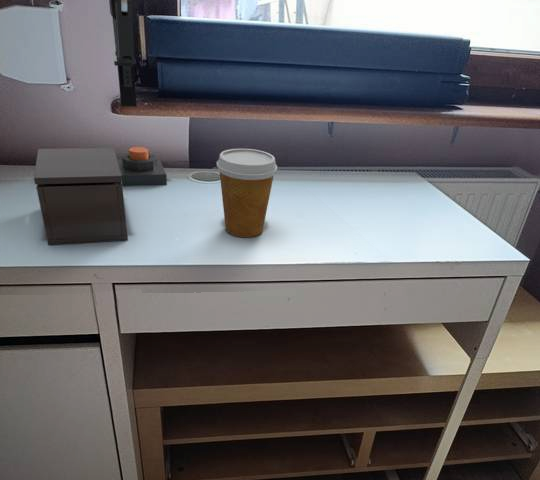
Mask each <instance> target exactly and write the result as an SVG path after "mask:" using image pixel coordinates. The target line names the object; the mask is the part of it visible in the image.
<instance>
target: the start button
mask: <svg viewBox="0 0 540 480" xmlns="http://www.w3.org/2000/svg"><path fill="white" fill-rule="evenodd" d="M128 153H129V156H130V159H132V160H147V159H149V158H148V153H149V149H148V148H146V147H142V146H134V147H130V148H129V149H128Z"/></svg>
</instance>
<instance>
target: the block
mask: <svg viewBox="0 0 540 480" xmlns="http://www.w3.org/2000/svg"><path fill="white" fill-rule="evenodd" d="M148 158H149V159H147V160H132V159H130V156H129V152H126V153H124V154H123V155H121V158H117V161H118V165H119V169H120V172H121V176H122V187H147V186H148V187H149V186H167V185H168V180H167V179H168V178H167V177H168V176H167V172H166V171H165V168H164V166H163V164H162V162H161V160H160V158H158V157H156V155H155V154H152V153H151V152H148Z"/></svg>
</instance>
